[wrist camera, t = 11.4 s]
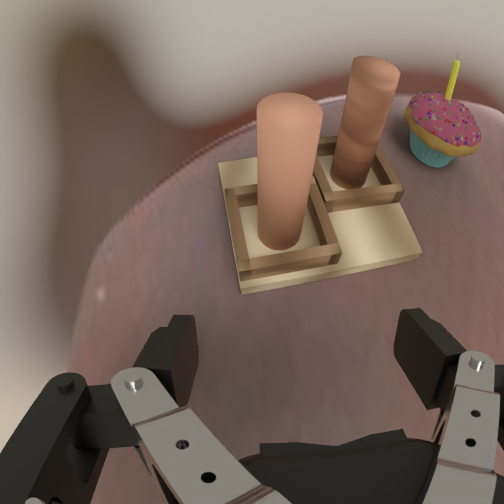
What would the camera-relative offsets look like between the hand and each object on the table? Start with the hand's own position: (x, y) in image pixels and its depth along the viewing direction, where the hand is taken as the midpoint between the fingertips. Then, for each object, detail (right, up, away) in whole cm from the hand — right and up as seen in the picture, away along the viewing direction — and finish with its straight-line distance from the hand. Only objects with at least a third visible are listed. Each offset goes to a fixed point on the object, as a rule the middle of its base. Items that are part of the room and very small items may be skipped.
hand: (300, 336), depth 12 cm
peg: (0, +5, +12) cm, 13 cm away
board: (+3, +6, +15) cm, 16 cm away
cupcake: (+18, +14, +19) cm, 29 cm away
